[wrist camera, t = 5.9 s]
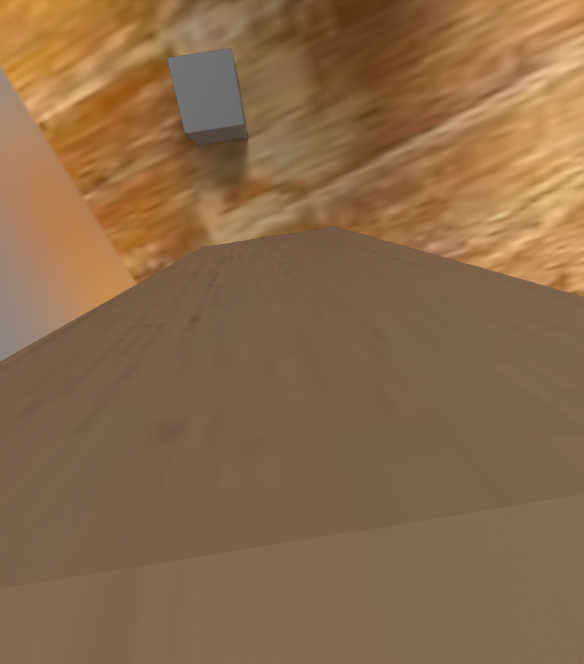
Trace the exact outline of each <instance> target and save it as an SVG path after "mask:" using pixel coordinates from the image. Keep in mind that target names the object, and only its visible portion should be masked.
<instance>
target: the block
mask: <svg viewBox="0 0 584 664" xmlns="http://www.w3.org/2000/svg"><path fill="white" fill-rule="evenodd" d="M0 664H584V297H583V296H579V295H576V294H572V293H569V292H565V291H562V290H558V289H555V288H551V287H547V286H544V285H540V284H537V283H533V282H530V281H526V280H523V279H519V278H515V277H512V276H508V275H505V274H501V273H498V272H494V271H490V270H487V269H483V268H480V267H476V266H473V265H469V264H466V263H462V262H458V261H455V260H451V259H448V258H444V257H441V256H437V255H434V254H430V253H426V252H423V251H419V250H416V249H412V248H409V247H405V246H401V245H398V244H394V243H391V242H387V241H384V240H380V239H377V238H373V237H369V236H366V235H362V234H359V233H355V232H352V231H348V230H344V229H341V228H337V227H329V228H322V229H316V230H309V231H303V232H297V233H290V234H284V235H277V236H271V237H265V238H258V239H252V240H245V241H239V242H233V243H226V244H220V245H213V246H207V247H202V248H201V249H199V250H197V251H195V252H194V253H192V254H190V255H188V256H186V257H185V258H183V259H181V260H179V261H178V262H176V263H174V264H172V265H171V266H169V267H167V268H165V269H163V270H162V271H160V272H158V273H156V274H155V275H153V276H151V277H149V278H148V279H146V280H144V281H142V282H140V283H139V284H137V285H135V286H133V287H132V288H130V289H128V290H126V291H125V292H123V293H121V294H119V295H117V296H116V297H114V298H112V299H110V300H109V301H107V302H105V303H104V304H101V305H100V306H98V307H96V308H95V309H93V310H91V311H89V312H87V313H86V314H84V315H82V316H80V317H79V318H77V319H75V320H73V321H71V322H70V323H68V324H66V325H64V326H63V327H61V328H59V329H57V330H55V331H54V332H52V333H50V334H48V335H47V336H45V337H43V338H41V339H39V340H38V341H36V342H34V343H32V344H31V345H29V346H27V347H25V348H24V349H22V350H20V351H18V352H16V353H15V354H13V355H12V356H9V357H8V358H6V359H4V360H2V361H0Z"/></svg>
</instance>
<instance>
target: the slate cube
mask: <svg viewBox="0 0 584 664" xmlns="http://www.w3.org/2000/svg"><path fill="white" fill-rule="evenodd" d="M167 60H168V64H169V68H170V72H171V76H172V81H173V85H174V89H175V93H176V97H177V102H178V106H179V110H180V114H181V118H182V123H183V127H184V131H185V134H186V135H187V136H188V137H189V138H191V139H192V140H193V141H194V142H195V143H196V144H197V145H198V146H199V145H206V144H212V143H219V142H225V141H232V140H238V139H244V138H248V134H247V128H246V122H245V116H244V111H243V105H242V99H241V93H240V87H239V82H238V76H237V71H236V67H235V63H234V58H233V54H232V50H231V48H229V49H223V50H216V51H210V52H203V53H196V54H190V55H183V56H177V57H170V58H167Z"/></svg>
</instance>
